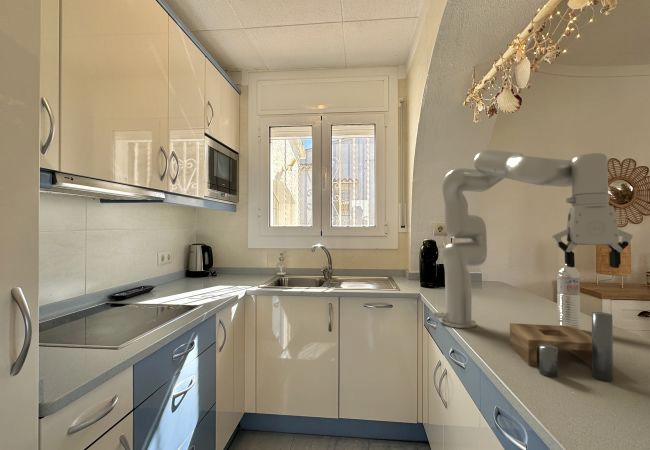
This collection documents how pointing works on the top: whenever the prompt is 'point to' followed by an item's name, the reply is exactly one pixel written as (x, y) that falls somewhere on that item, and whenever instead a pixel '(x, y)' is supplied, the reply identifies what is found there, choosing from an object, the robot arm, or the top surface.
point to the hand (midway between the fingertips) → (592, 267)
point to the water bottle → (568, 297)
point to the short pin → (548, 360)
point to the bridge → (549, 341)
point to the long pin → (602, 346)
